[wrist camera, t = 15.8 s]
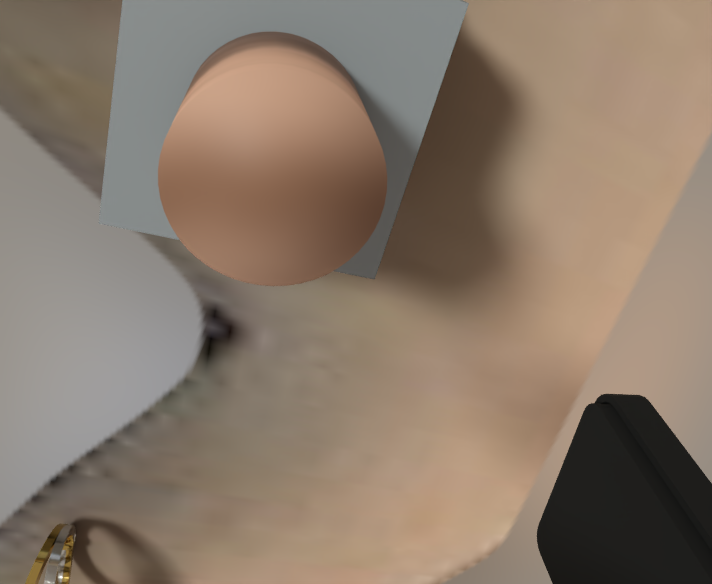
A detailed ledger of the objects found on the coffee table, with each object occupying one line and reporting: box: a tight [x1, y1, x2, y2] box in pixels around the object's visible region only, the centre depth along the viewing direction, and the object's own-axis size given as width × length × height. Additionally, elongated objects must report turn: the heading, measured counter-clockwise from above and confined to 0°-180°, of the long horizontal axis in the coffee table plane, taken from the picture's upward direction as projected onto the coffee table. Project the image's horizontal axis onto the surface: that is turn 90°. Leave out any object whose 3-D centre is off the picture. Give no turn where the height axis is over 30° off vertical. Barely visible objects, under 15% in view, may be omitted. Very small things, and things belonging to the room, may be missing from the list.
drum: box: [158, 32, 387, 286], centre depth 21 cm, size 6×6×6 cm
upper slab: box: [99, 0, 469, 279], centre depth 25 cm, size 11×11×4 cm
